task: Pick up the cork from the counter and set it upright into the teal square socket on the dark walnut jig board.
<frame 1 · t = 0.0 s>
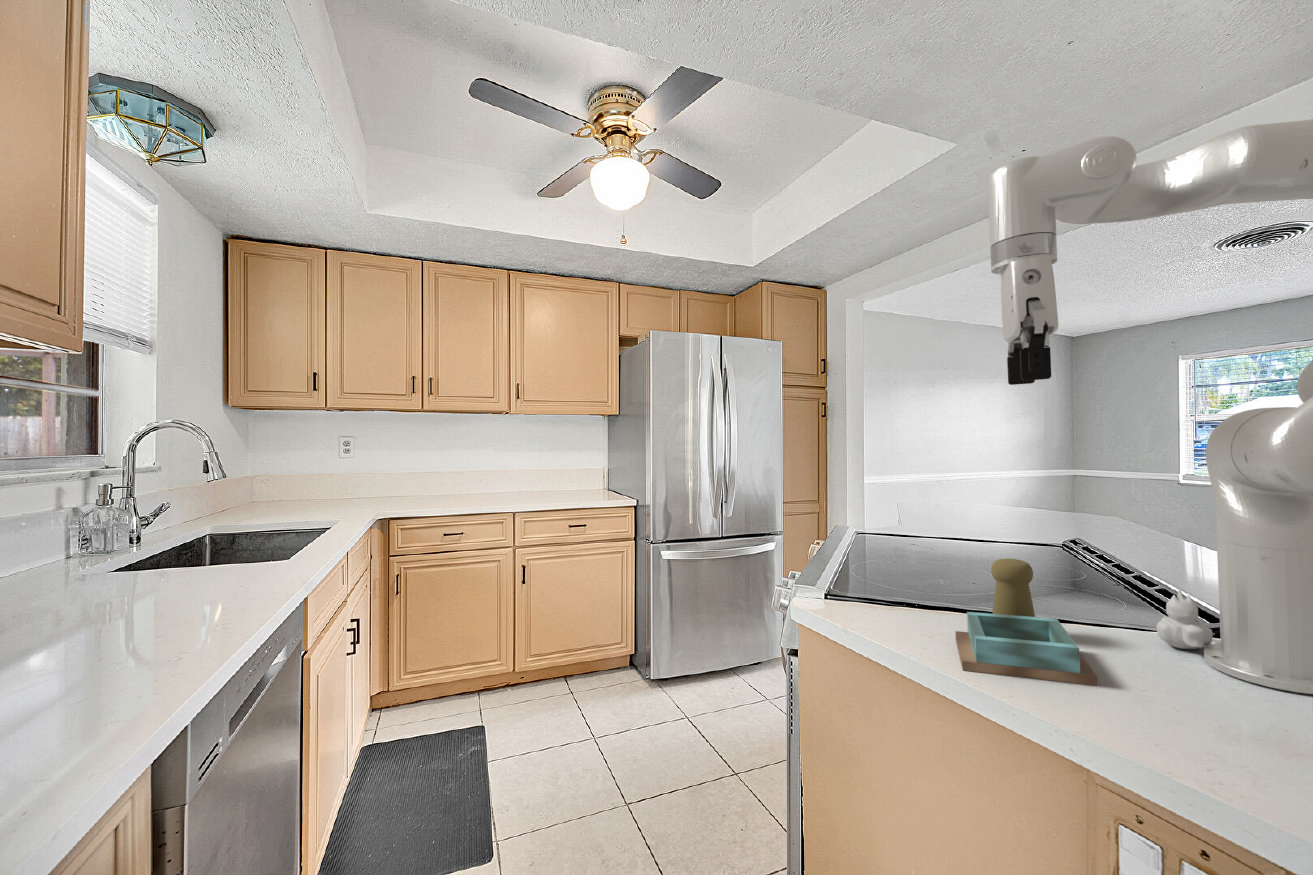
hand: (1028, 381, 76), 37 cm above the table, tool pointing down, fingers open, 9 cm apart
rubber duck: (1185, 650, 75), on the table
cork: (1014, 635, 82), on the table
jig board: (1019, 659, 74), on the table
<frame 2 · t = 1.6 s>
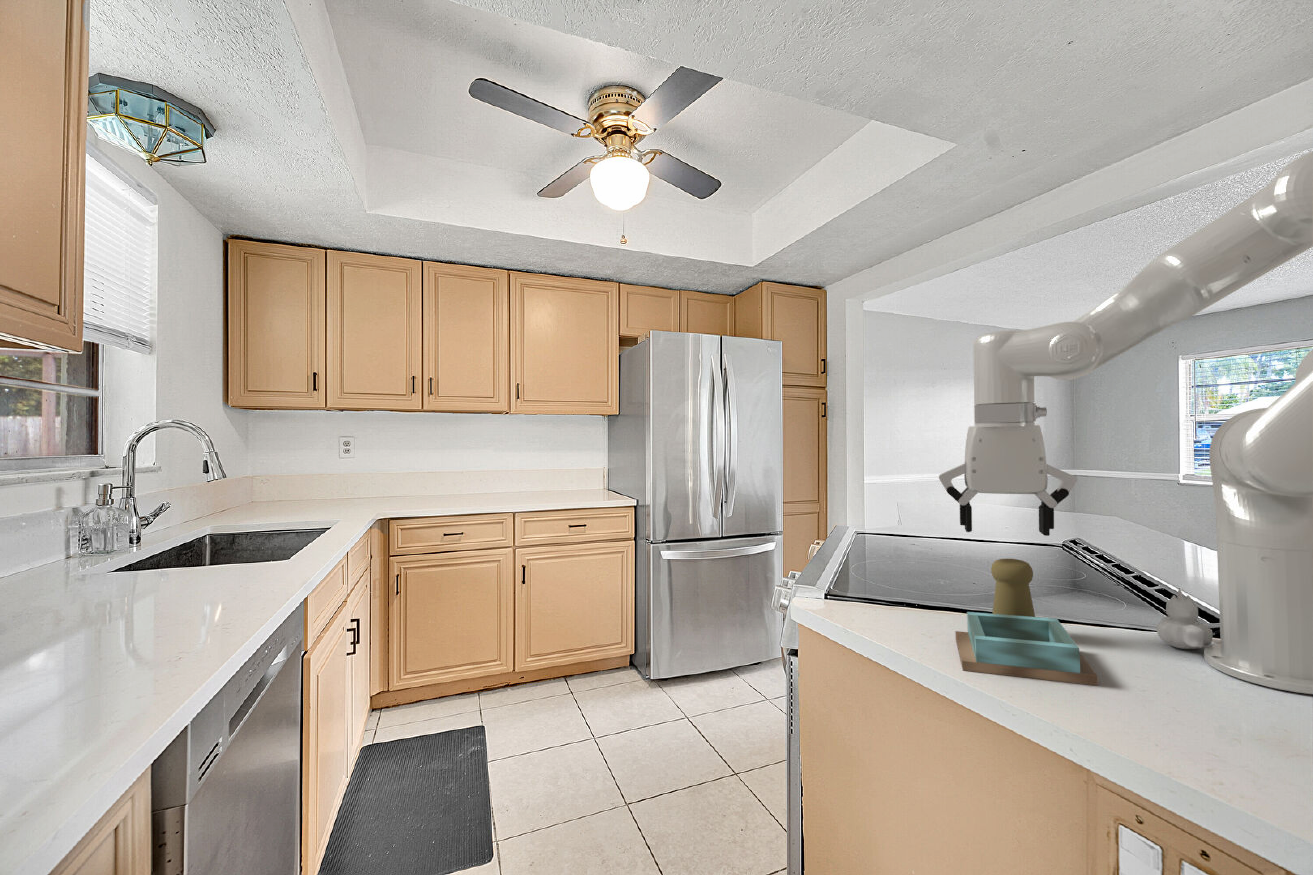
hand: (1005, 532, 83), 15 cm above the table, tool pointing down, fingers open, 9 cm apart
nothing on the table moved.
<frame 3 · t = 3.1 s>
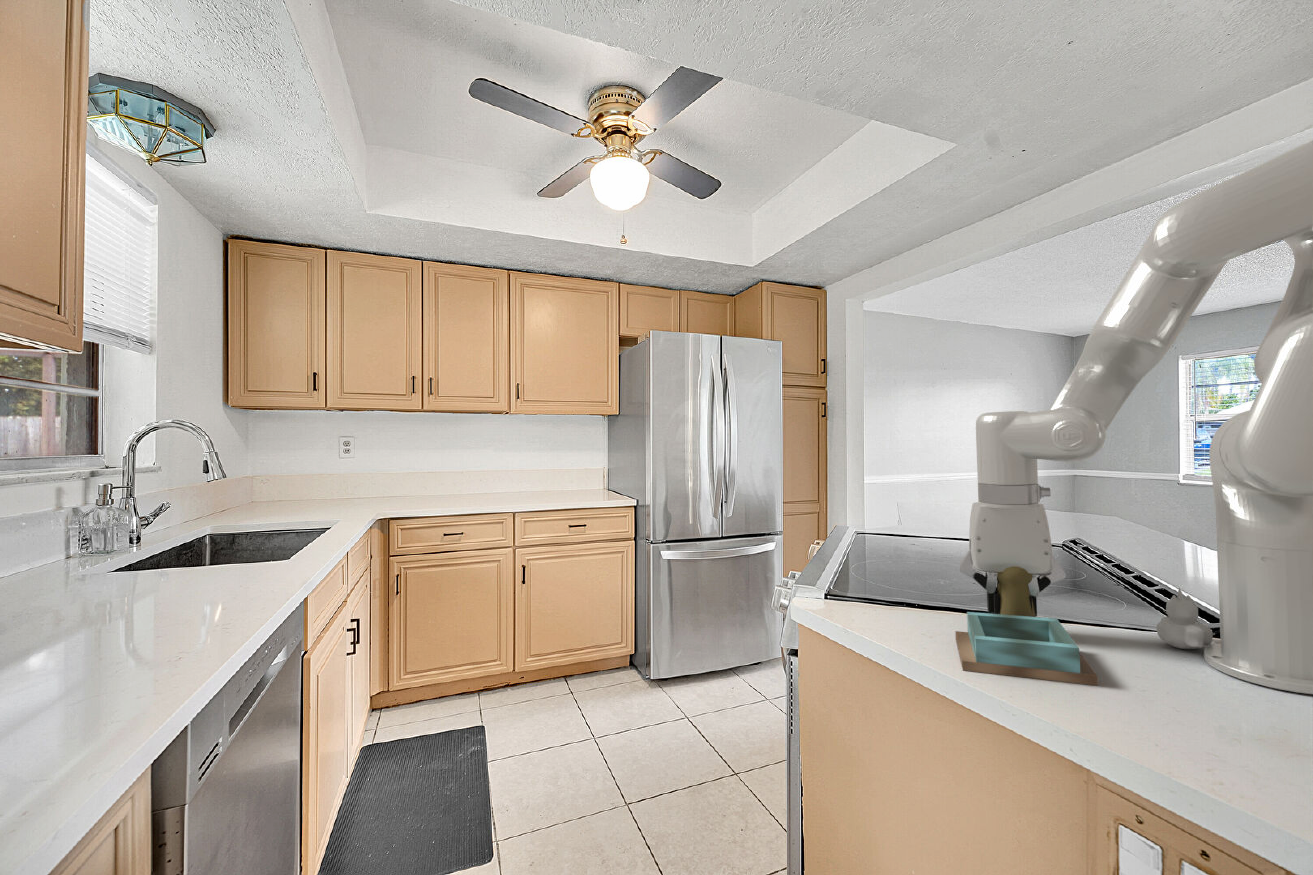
hand: (1011, 617, 83), 2 cm above the table, tool pointing down, fingers open, 3 cm apart
cork: (1015, 635, 82), on the table, touching gripper
everything else where it was.
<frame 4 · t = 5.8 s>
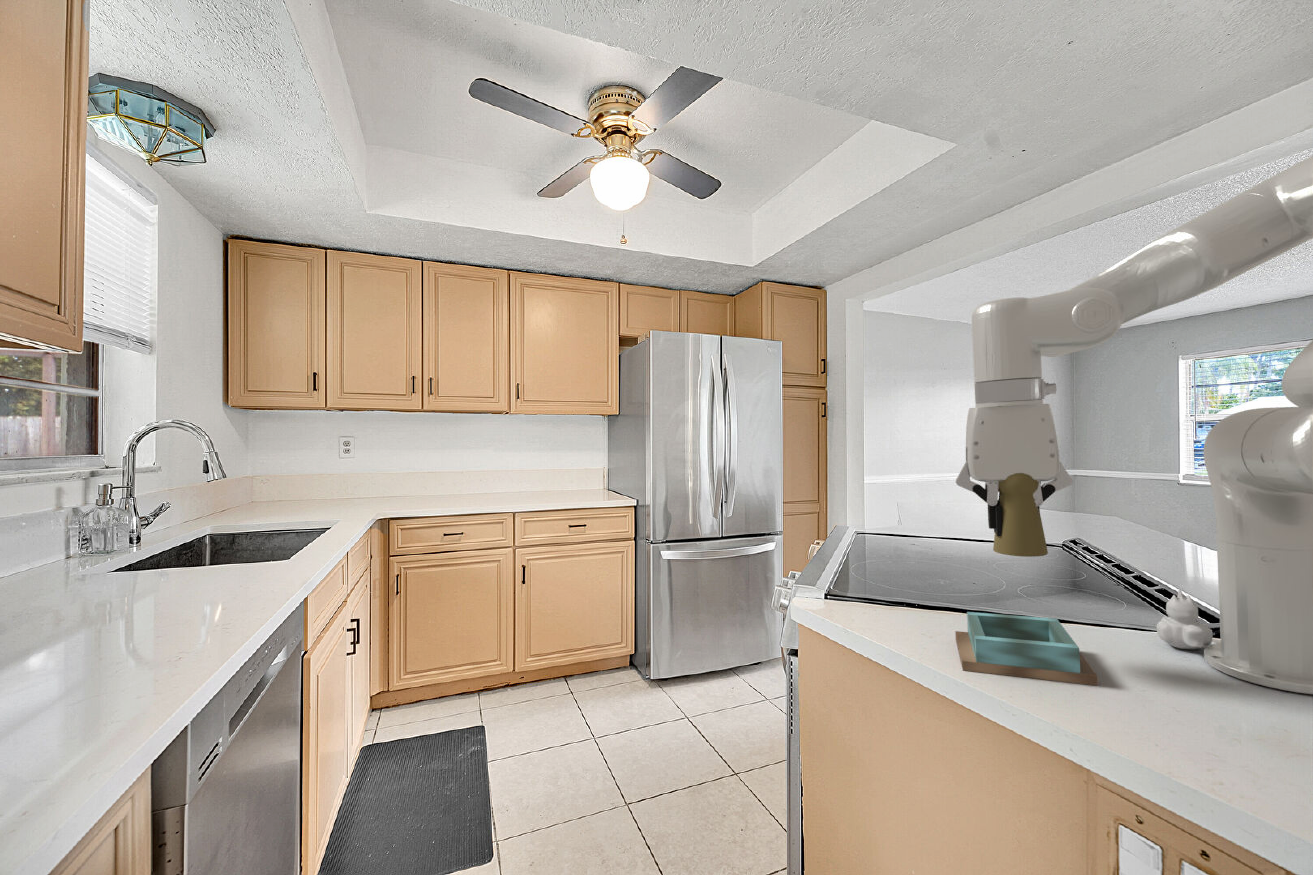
hand: (1014, 533, 73), 17 cm above the table, tool pointing down, fingers closed on cork, 2 cm apart
cork: (1020, 552, 73), point 14 cm above the table, touching gripper
everything else where it was.
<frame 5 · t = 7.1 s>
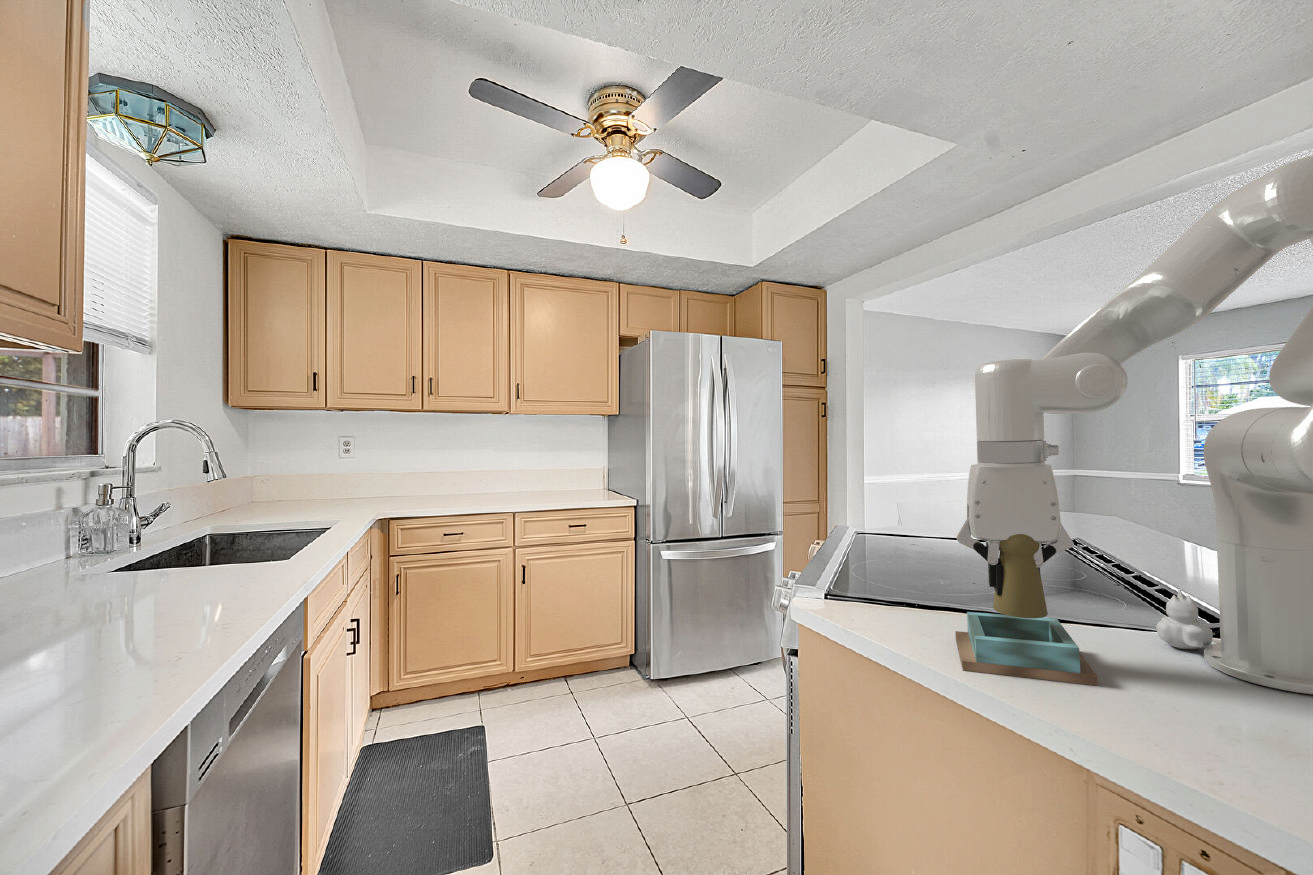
hand: (1014, 592, 74), 9 cm above the table, tool pointing down, fingers closed on cork, 2 cm apart
cork: (1019, 612, 73), point 6 cm above the table, touching gripper
everything else where it was.
when the fingers open (5 cm above the table, at t = 8.2 s): cork drops 1 cm, resting on jig board.
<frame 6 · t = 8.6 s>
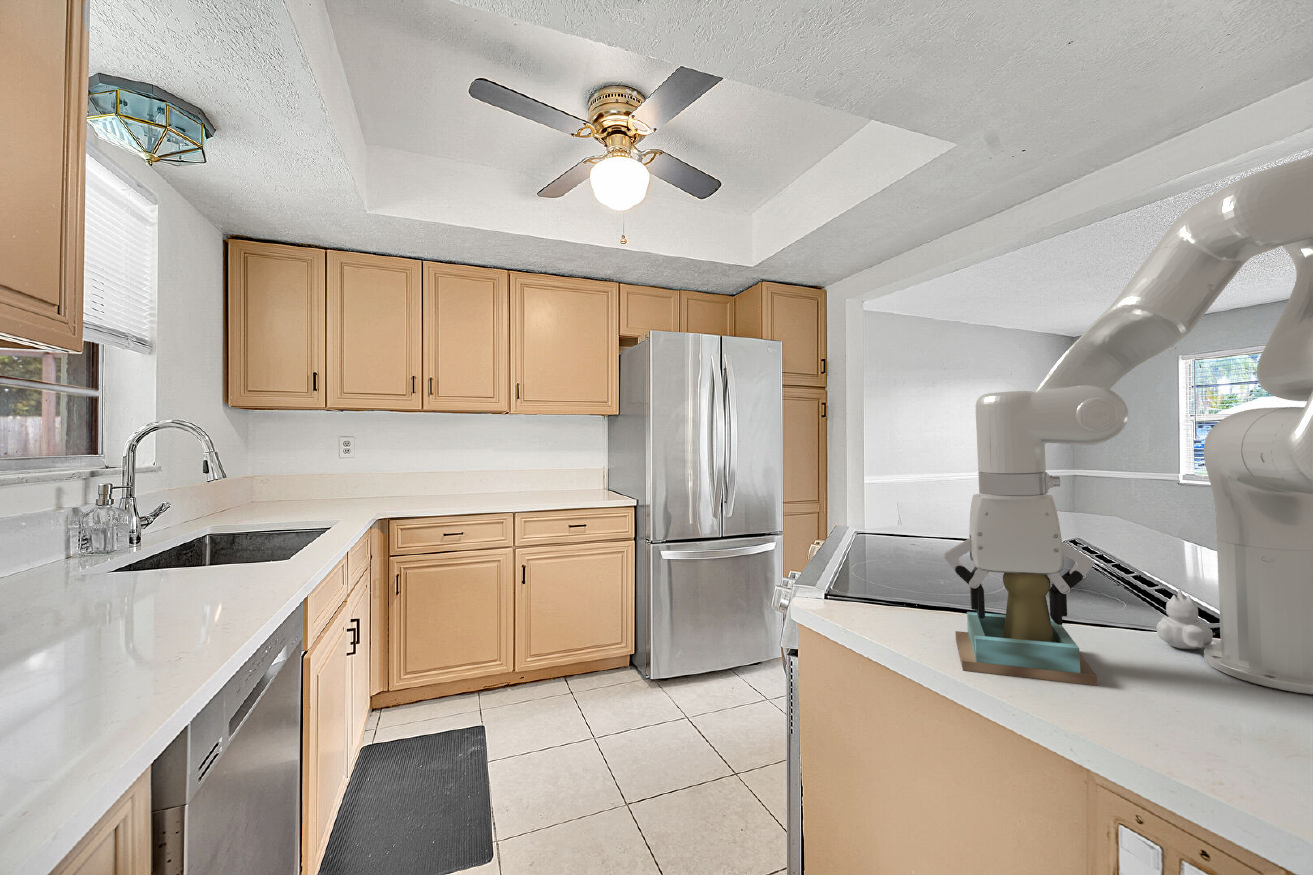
hand: (1017, 617, 74), 6 cm above the table, tool pointing down, fingers open, 8 cm apart
cork: (1029, 653, 73), point 1 cm above the table, touching jig board
everything else where it was.
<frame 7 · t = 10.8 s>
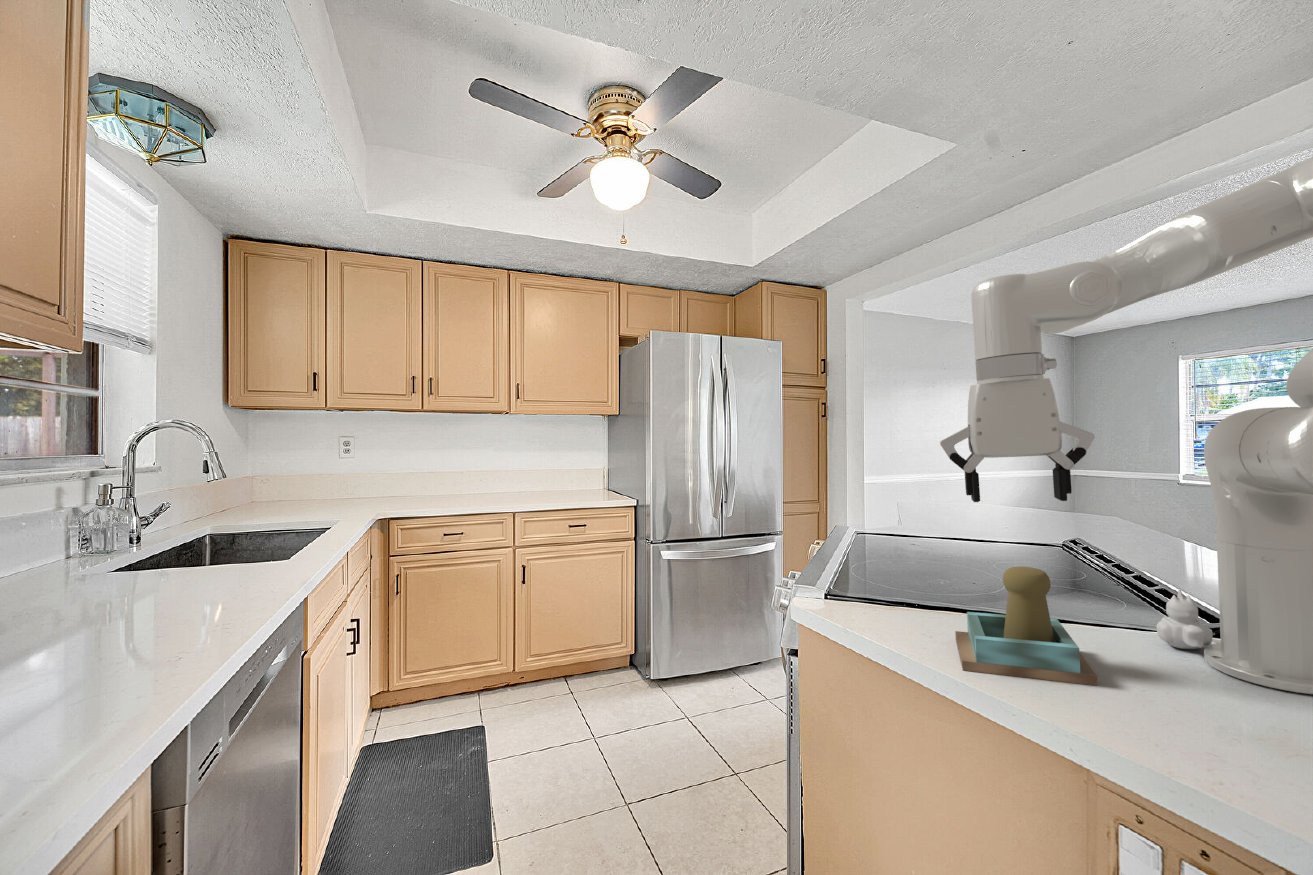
hand: (1017, 500, 74), 21 cm above the table, tool pointing down, fingers open, 9 cm apart
nothing on the table moved.
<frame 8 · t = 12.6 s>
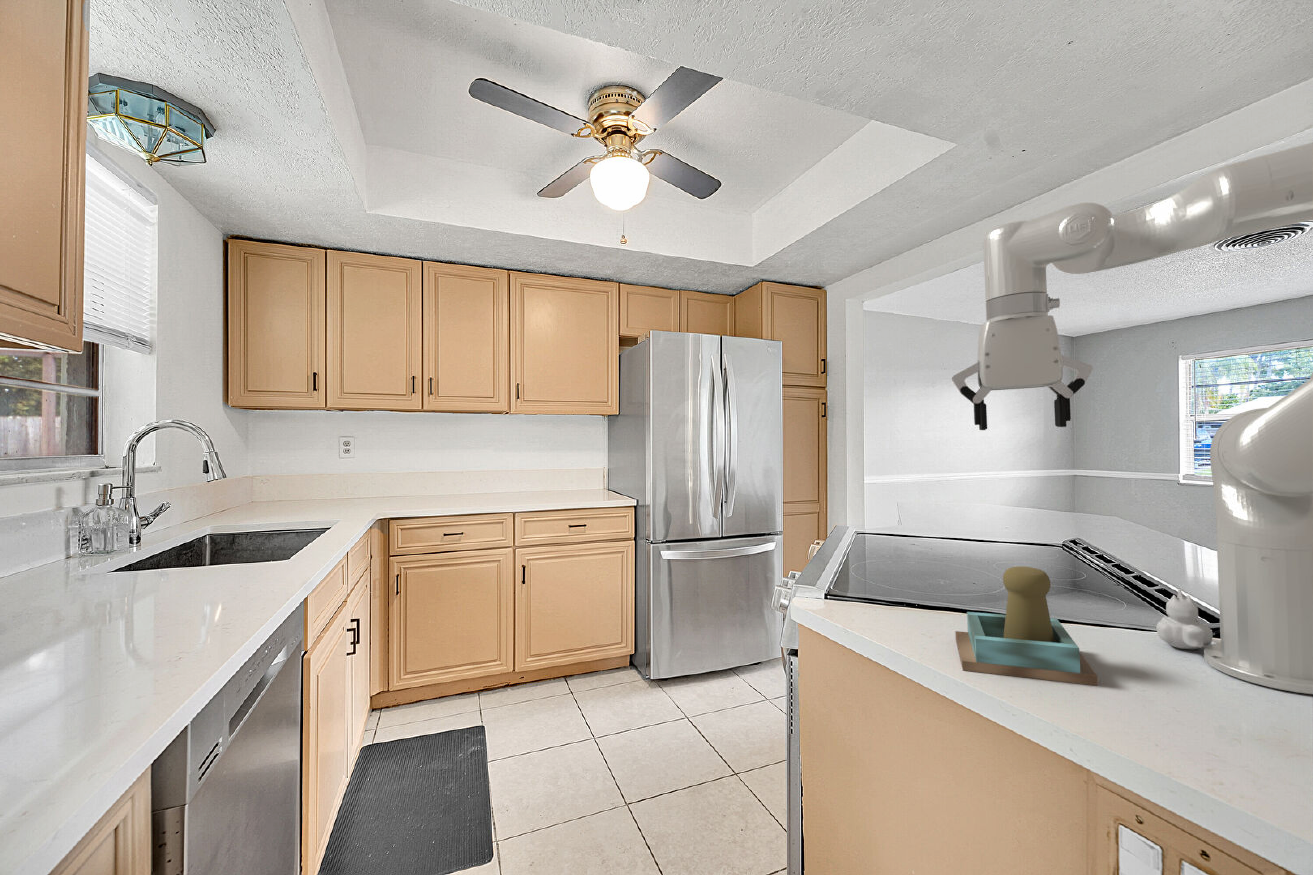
hand: (1021, 428, 82), 30 cm above the table, tool pointing down, fingers open, 9 cm apart
nothing on the table moved.
at the end: cork 1.2 cm off-centre on the jig board, point 1.0 cm above the jig board's base; cork tilted 0°; the gripper is holding nothing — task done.
